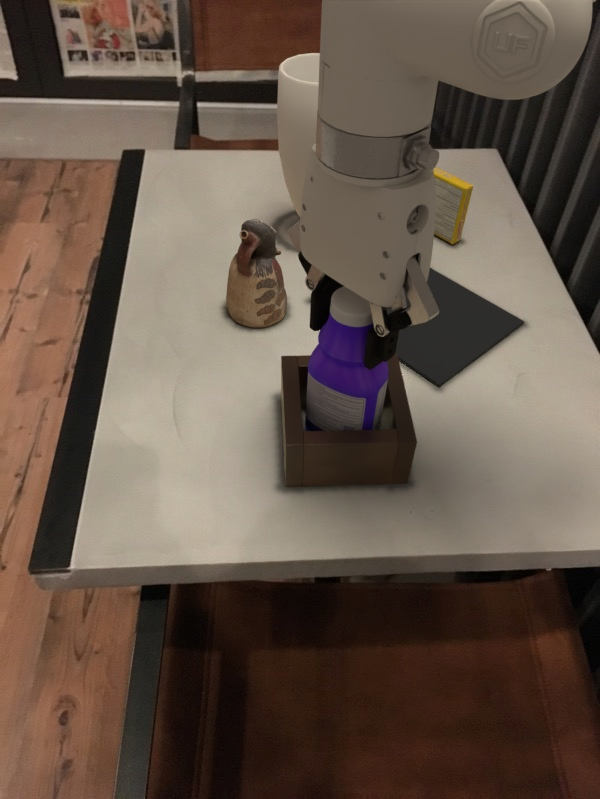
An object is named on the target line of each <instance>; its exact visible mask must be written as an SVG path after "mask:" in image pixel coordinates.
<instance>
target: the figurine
mask: <svg viewBox="0 0 600 799" xmlns="http://www.w3.org/2000/svg"><path fill="white" fill-rule="evenodd" d="M277 232H278V231H276V230H275V228H273V227H272V226H271V225H270V224H267V223H265V221H263V220H262V219H258V218H252V219H249V220H245V221H244V222H243V223H242V224H241V228H240V232H239V238H240V240H241V242H240V244H239V246H238V249H237V252H236V253H235V254H234V256H233V257H232V259H231V262H230V265H229V268H228V276H227V284H226V295H225V298H226V306H227V311H228V314H229V316H230V318H232V319H233V321H234V322H236V323H237V324H240V325H242V326H245V327H248V328H249V327H250V328H267V327H271V326H272V325H275V324H277V323H279V322H280V321H282V320H283V319H284V318H285V316H286V314H287V304H288V295H287V291H286V288H285V281H284V273H283V270H282V267H281V265H280V263H279V261H278V260H277V256H280V255H282V250H281V249H279V248H277V245H276V244H277V241H276V240H277V239H276V238H277V234H278V233H277Z"/></svg>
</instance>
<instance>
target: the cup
mask: <svg viewBox="0 0 600 799" xmlns="http://www.w3.org/2000/svg"><path fill="white" fill-rule="evenodd" d="M319 60H320V52H311V53H310V52H309V53H301V54H296V55H293V56H290V57H288V58H286V59H284V60H283V61H282V62H281V63H280V64H279V66H278V74H277V76H278V77H277V102H276V104H277V106H276V123H277V125H276V126H277V145H278V147H277V148H278V152H279V160H280V162H281V163H280V164H281V169H282V174H283V178H284V179H283V180H284V183H285V185H286V189H287V192H288V194H289V197H290V201H291V203H292V205H293V207H294V209H295V211H296V213H297V215H298V217H300V215H301V204H302V195H303V188H304V181H305V176H306V171H307V166H308V161H309V157H310V154H311V150H312V147H313V145H314V144H315V143H316V130H317V110H318V87H319Z"/></svg>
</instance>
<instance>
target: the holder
mask: <svg viewBox="0 0 600 799" xmlns="http://www.w3.org/2000/svg"><path fill="white" fill-rule="evenodd" d="M310 357H311V354H310V355H309V354H308V355H307V354H306V355H304V354H303V355H281V357H280V405H281V407H280V408H281V426H282V449H283V469H284V470H283V471H284V486H285V487H319V486H351V485H352V486H353V485H384V484H386V485H387V484H388V485H389V484H408V483H409V480H410V475H411V470H412V467H413V462H414V458H415V453H416V449H417V446H418V439H417V436H416V431H415V430H416V429H415V426H414V422H413V417H412V413H411V408H410V404H409V400H408V396H407V391H406V386H405V382H404V378H403V373H402V368H401V365H400V361H399V359H398V355H397V354H394V356H393V357H392V358H391V359H389V360H388V361H387V365H388V382H387V388H386V393H385V399H384V405H383V410H382V416H381V422H380V428H381V429H379V430H341V431H306V430H305V431H304V426H303V410H302V409H306V399H307V381H308V364H309V360H310Z"/></svg>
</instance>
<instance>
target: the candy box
mask: <svg viewBox="0 0 600 799" xmlns="http://www.w3.org/2000/svg"><path fill="white" fill-rule="evenodd" d="M433 171H434V180H435V199H436V206H435V229H434V236H437V237H439V238H440V239H441V240H444V241H446V242H447V243H449V244H450V245H454V244H456V243H458V242H460V241H461V239H462V234H463V230H464V226H465V222H466V217H467V214H468V210H469V205H470V201H471V197H472V194H473V190H474V185H473V184H471V183H469V182H467V181H465V180H463V179H461V178H459V177H457V176H455V175H452V174H451V173H449V172H446V171H444V170H442V169H440V168H438V167H436V166H435V168H433Z"/></svg>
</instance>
